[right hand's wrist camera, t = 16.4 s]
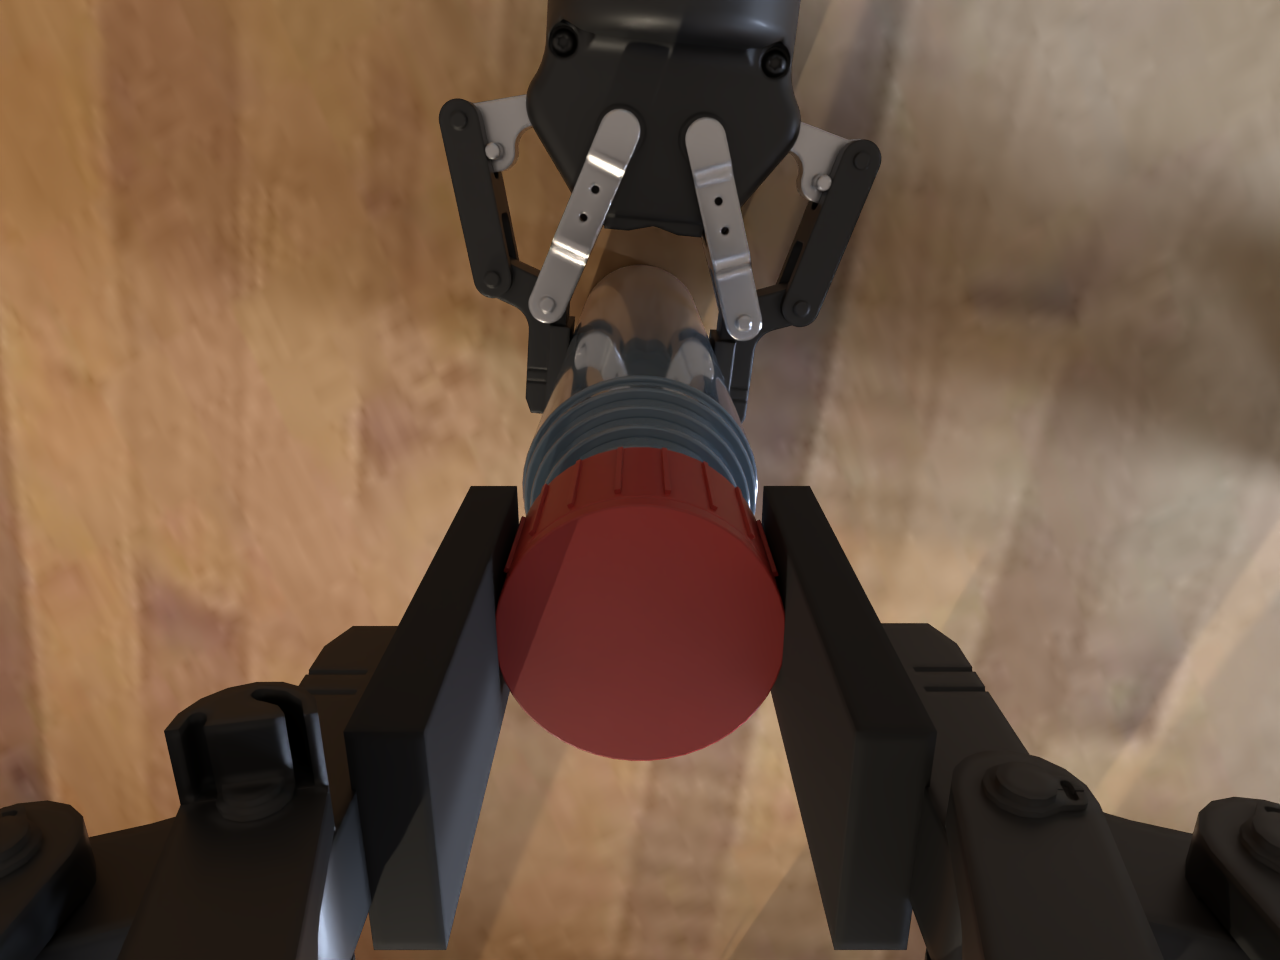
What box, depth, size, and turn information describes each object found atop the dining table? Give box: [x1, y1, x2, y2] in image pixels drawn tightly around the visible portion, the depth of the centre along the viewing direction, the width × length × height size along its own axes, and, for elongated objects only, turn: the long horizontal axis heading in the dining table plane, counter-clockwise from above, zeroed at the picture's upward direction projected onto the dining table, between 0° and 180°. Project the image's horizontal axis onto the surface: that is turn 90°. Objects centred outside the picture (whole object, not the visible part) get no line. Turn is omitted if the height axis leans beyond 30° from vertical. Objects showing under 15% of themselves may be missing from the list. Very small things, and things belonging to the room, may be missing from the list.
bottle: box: [522, 265, 758, 516], centre depth 24 cm, size 5×5×25 cm
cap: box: [495, 447, 785, 761], centre depth 13 cm, size 4×4×2 cm
